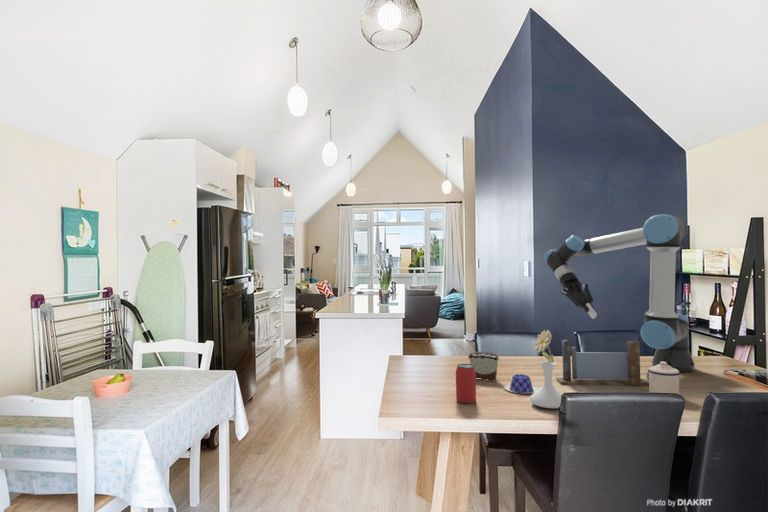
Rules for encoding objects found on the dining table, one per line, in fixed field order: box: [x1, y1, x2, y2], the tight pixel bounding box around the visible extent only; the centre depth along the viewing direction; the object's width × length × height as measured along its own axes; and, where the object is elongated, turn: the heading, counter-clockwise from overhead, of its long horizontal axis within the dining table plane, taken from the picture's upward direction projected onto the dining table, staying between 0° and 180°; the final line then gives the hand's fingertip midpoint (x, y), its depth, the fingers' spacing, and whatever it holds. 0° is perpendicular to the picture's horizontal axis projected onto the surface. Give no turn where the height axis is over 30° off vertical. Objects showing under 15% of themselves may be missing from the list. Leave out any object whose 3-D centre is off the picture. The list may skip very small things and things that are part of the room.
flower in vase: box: [529, 329, 563, 409], centre depth 137 cm, size 13×11×25 cm
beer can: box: [455, 363, 477, 405], centre depth 144 cm, size 7×7×12 cm
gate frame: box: [555, 339, 649, 387], centre depth 161 cm, size 32×7×16 cm, turn 84°
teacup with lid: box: [646, 362, 681, 395], centre depth 146 cm, size 12×9×12 cm
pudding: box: [504, 373, 540, 395], centre depth 155 cm, size 12×12×5 cm
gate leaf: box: [571, 346, 628, 380], centre depth 161 cm, size 21×2×12 cm, turn 83°
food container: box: [467, 351, 500, 382], centre depth 171 cm, size 12×6×10 cm, turn 65°
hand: (594, 316), depth 185 cm, fingers closed
